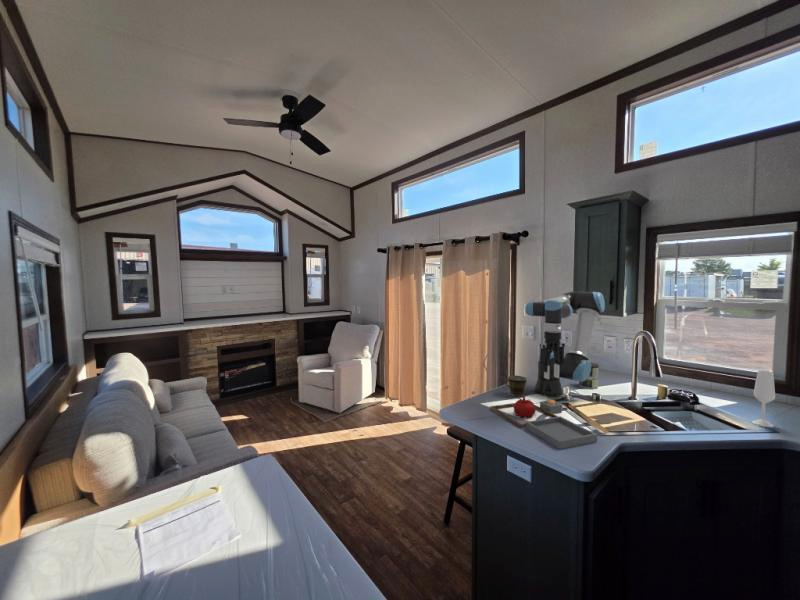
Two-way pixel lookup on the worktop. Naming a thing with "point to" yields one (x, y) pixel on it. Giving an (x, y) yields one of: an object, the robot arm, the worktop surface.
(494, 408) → the wooden flat square frame
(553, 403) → the button
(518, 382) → the ceramic cup
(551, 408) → the button housing
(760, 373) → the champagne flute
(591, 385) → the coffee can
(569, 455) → the worktop surface
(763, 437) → the worktop surface
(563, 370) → the robot arm
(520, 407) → the pomegranate
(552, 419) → the tray
